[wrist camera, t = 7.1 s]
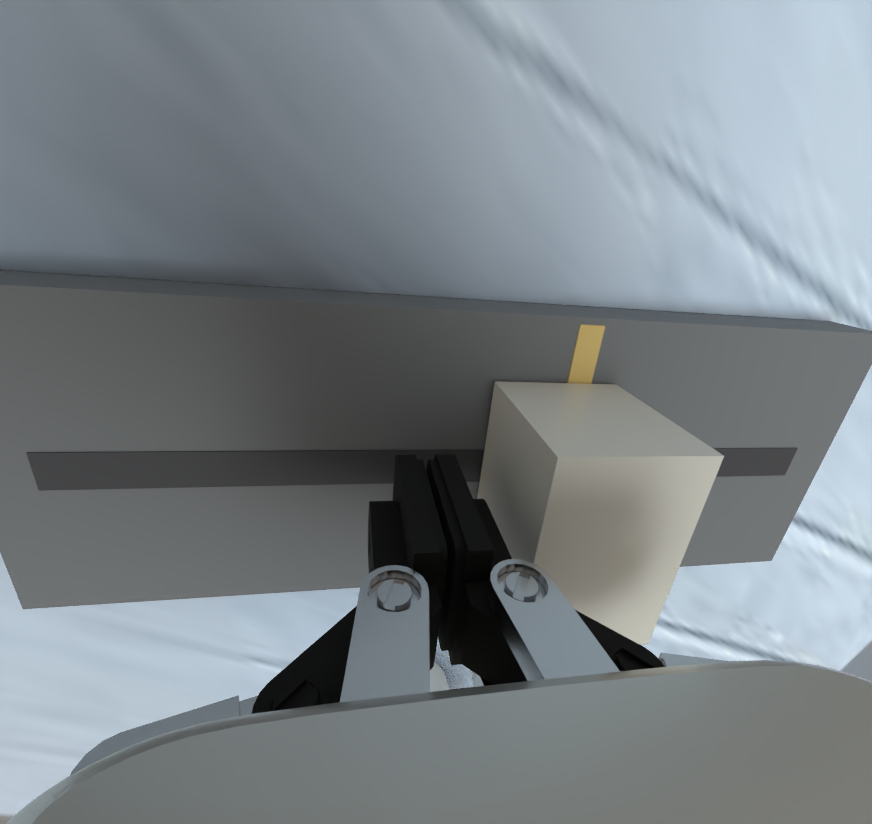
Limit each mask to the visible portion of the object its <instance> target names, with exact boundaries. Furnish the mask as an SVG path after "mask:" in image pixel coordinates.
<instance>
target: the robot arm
mask: <svg viewBox="0 0 872 824" xmlns="http://www.w3.org/2000/svg"><path fill="white" fill-rule="evenodd" d="M368 566H369V574H368V575H367V576H366V578H365V579H364V580H363V582H362V585H361V587H360V592H359V598H358V603H357V606H356V607H355V608H354V609H353V610H352V611H350V612H349V613H348V614H347V615H346V616H345V617H344V618H342V619H341V620H340V621H339V622H338V623H337V624H335V625H334V626H333V627H332V628H331V629H330V630H329V631H327V632H326V633H325V634H324V635H323V636H322V637H320V638H319V639H318V640H317V641H316V642H315V643H314V644H312V645H311V646H310V647H309V648H308V649H307V650H306V651H304V652H303V653H302V654H301V655H300V656H299V657H297V658H296V659H295V660H294V661H293V662H292V663H291V664H289V665H288V666H287V667H286V668H285V669H284V670H282V671H281V672H280V673H279V674H278V675H277V676H276V677H274V678H273V679H272V680H271V681H270V682H269V683H268V684H267V685H266V686H265V687H264V688H263V690H262V691H261V692H260V693H259V695H258V696H255V697H252V698H249V699H246V700H243V701H240V702H239V695H238V696H235V697H232V698H229V699H226V700H223V701H219V702H216V703H213V704H210V705H207V706H203V707H200V708H197V709H194V710H191V711H188V712H184V713H181V714H178V715H175V716H172V717H168V718H165V719H162V720H159V721H156V722H153V723H149V724H146V725H143V726H140V727H137V728H134V729H130V730H127V731H124V732H121V733H119V734H117V735H114V736H112V737H110V738H108V739H106V740H104V741H102V742H101V743H100V744H98V745H97V746H96V747H95V748H93V749H92V750H91V751H89V752H88V753H87V754H86V755H85V756H84V757H83V758H82V760H81V761H80V762H79V763H78V765H77V766H76V767H75V768H74V769H73V771H72V772H71V775H70V776H69V777H67V778H66V779H64V780H62V781H61V782H59V783H58V784H56V785H55V786H53V787H51V788H50V789H48V790H47V791H45V792H44V793H42V794H41V795H40V796H38V797H37V798H36V799H34V800H33V801H32V802H30V803H29V804H28V805H26V806H25V807H24V808H23V809H22V810H21V811H19V812H18V813H17V814H16V815H15V816H14V817H13V818H12V819H11V820H10V821H9V822H8V823H7V824H872V682H871V681H868V680H866V679H863V678H860V677H857V676H854V675H851V674H848V673H845V672H841V671H837V670H834V669H830V668H826V667H822V666H818V665H811V664H804V663H797V662H789V661H768V660H758V661H722V660H714V659H707V658H699V657H691V656H683V655H676V654H668V653H661V654H660V656H659V658H657V657H656V656H655V655H654V654H653V653H652V652H650V651H649V650H647V649H646V648H644V647H643V646H641V645H639V644H638V643H636V642H634V641H632V640H630V639H628V638H627V637H625V636H623V635H621V634H619V633H617V632H615V631H614V630H612V629H610V628H608V627H606V626H604V625H603V624H601V623H599V622H597V621H595V620H593V619H591V618H590V617H588V616H586V615H584V614H582V613H580V612H579V611H577V610H575V609H574V608H573V607H572V605H571V604H570V602H569V601H568V600H567V598H566V597H565V596H564V594H563V593H562V592H561V590H560V589H559V588H558V586H557V585H556V583H555V582H554V581H553V579H552V578H551V577H550V576H549V575H548V573H547V572H546V571H545V570H544V569H542V568H540V567H539V566H537V565H536V564H534V563H531V562H529V561H525V560H520V559H512V557H511V555H510V553H509V551H508V548H507V546H506V544H505V542H504V540H503V537H502V535H501V533H500V531H499V529H498V526H497V524H496V522H495V520H494V518H493V516H492V513H491V511H490V509H489V507H488V505H487V503H486V501H485V500H484V499H473V497H472V495H471V492H470V490H469V488H468V485H467V483H466V480H465V478H464V475H463V473H462V471H461V468H460V466H459V463H458V461H457V459H456V456H455V455H453V454H450V455H435V456H434V460H428V461H427V468H426V469H425V465H424V461H423V460H417V458H416V455H396V457H395V469H394V484H393V500H392V501H369V515H368ZM437 638H438V639H439V644H440V648H441V650H442V651H443V650H448V651H449V656H450V661H451V665H457V664H463V665H464V666H466V667H467V668H469V669H470V670H471V671H472V680H473V684H474V687H470V688H461V689H452V690H443V691H434V692H430V670H431V669H432V668H433V666H434V660H435V653H436V645H437Z"/></svg>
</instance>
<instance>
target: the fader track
mask: <svg viewBox="0 0 872 824" xmlns="http://www.w3.org/2000/svg"><path fill="white" fill-rule="evenodd" d="M871 365H872V331H869V330H865V329H861V328H856V327H852V326H848V325H843V324H839V323H835V322H830V321H815V320H799V319H783V318H767V317H751V316H734V315H718V314H702V313H686V312H670V311H653V310H637V309H621V308H605V307H589V306H572V305H556V304H540V303H524V302H508V301H491V300H475V299H459V298H443V297H427V296H410V295H394V294H378V293H362V292H346V291H329V290H313V289H297V288H281V287H265V286H248V285H232V284H216V283H200V282H184V281H167V280H151V279H135V278H119V277H103V276H86V275H70V274H54V273H38V272H22V271H5V270H0V553H1V555H2V558H3V560H4V563H5V565H6V568H7V570H8V573H9V575H10V578H11V580H12V583H13V585H14V588H15V590H16V593H17V595H18V598H19V600H20V603H21V605H22V608H23V609H32V608H48V607H63V606H79V605H94V604H110V603H125V602H141V601H156V600H172V599H187V598H202V597H218V596H233V595H249V594H264V593H280V592H295V591H311V590H326V589H342V588H357V587H361V585H362V582H363V580H364V579H365V578H366V576H367V575H368V574H369V566H368V515H369V501H392V500H393V484H394V469H395V457H396V455H416V458H417V460H423V461H424V465H425V469H426V468H427V461H428V460H434V456H435V455H450V454H453V455H455V456H456V459H457V461H458V463H459V466H460V468H461V471H462V473H463V475H464V478H465V480H466V483H467V485H468V488H469V490H470V492H471V495H472V497H473V499H477V496H478V489H479V483H480V476H481V469H482V463H483V456H484V450H485V443H486V436H487V430H488V423H489V416H490V410H491V403H492V397H493V390H494V383H495V381H502V382H542V383H581V384H616V385H618V386H619V387H621V388H622V389H624V390H625V391H627V392H628V393H630V394H631V395H633V396H634V397H636V398H637V399H639V400H640V401H642V402H644V403H645V404H647V405H648V406H650V407H651V408H653V409H654V410H656V411H657V412H659V413H660V414H662V415H663V416H665V417H666V418H668V419H669V420H671V421H672V422H674V423H675V424H677V425H678V426H680V427H681V428H683V429H684V430H686V431H687V432H689V433H690V434H692V435H693V436H695V437H696V438H698V439H699V440H701V441H703V442H704V443H706V444H707V445H709V446H710V447H712V448H713V449H715V450H716V451H718V452H719V453H721V454H722V455H724V458H723V460H722V463H721V465H720V468H719V470H718V473H717V475H716V478H715V480H714V483H713V485H712V488H711V490H710V493H709V495H708V497H707V500H706V502H705V505H704V507H703V510H702V512H701V515H700V517H699V520H698V522H697V525H696V527H695V530H694V532H693V535H692V537H691V539H690V542H689V544H688V547H687V549H686V552H685V554H684V557H683V559H682V562H681V564H680V567H682V566H698V565H713V564H729V563H744V562H760V561H772V559H773V557H774V555H775V553H776V551H777V549H778V547H779V545H780V543H781V541H782V539H783V537H784V535H785V533H786V531H787V529H788V527H789V525H790V523H791V521H792V519H793V517H794V515H795V514H796V512H797V510H798V508H799V506H800V504H801V502H802V500H803V498H804V496H805V494H806V492H807V490H808V488H809V486H810V484H811V482H812V480H813V478H814V476H815V474H816V472H817V470H818V469H819V467H820V465H821V463H822V461H823V459H824V457H825V455H826V453H827V451H828V449H829V447H830V445H831V443H832V441H833V439H834V437H835V435H836V433H837V431H838V429H839V427H840V425H841V423H842V422H843V420H844V418H845V416H846V414H847V412H848V410H849V408H850V406H851V404H852V402H853V400H854V398H855V396H856V394H857V392H858V390H859V388H860V386H861V384H862V382H863V380H864V378H865V376H866V375H867V373H868V371H869V369H870V367H871Z"/></svg>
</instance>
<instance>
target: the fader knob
mask: <svg viewBox="0 0 872 824" xmlns="http://www.w3.org/2000/svg"><path fill="white" fill-rule="evenodd" d="M723 458H724V455H722V454H721V453H719V452H718V451H716V450H715V449H713V448H712V447H710V446H709V445H707V444H706V443H704V442H703V441H701V440H699V439H698V438H696V437H695V436H693V435H692V434H690V433H689V432H687V431H686V430H684V429H683V428H681V427H680V426H678V425H677V424H675V423H674V422H672V421H671V420H669V419H668V418H666V417H665V416H663V415H662V414H660V413H659V412H657V411H656V410H654V409H653V408H651V407H650V406H648V405H647V404H645V403H644V402H642V401H640V400H639V399H637V398H636V397H634V396H633V395H631V394H630V393H628V392H627V391H625V390H624V389H622V388H621V387H619V386H618V385H616V384H581V383H542V382H502V381H495V383H494V390H493V397H492V403H491V410H490V416H489V423H488V430H487V436H486V443H485V450H484V456H483V463H482V469H481V476H480V483H479V489H478V496H477V499H484V500H485V501H486V503H487V505H488V507H489V509H490V511H491V513H492V516H493V518H494V520H495V522H496V524H497V526H498V529H499V531H500V533H501V535H502V537H503V540H504V542H505V544H506V546H507V548H508V551H509V553H510V555H511V557H512V559H520V560H525V561H529V562H531V563H534V564H536V565H537V566H539V567H540V568H542V569H544V570H545V571H546V572H547V573H548V575H549V576H550V577H551V578H552V579H553V581H554V582H555V583H556V585H557V586H558V588H559V589H560V590H561V592H562V593H563V594H564V596H565V597H566V598H567V600H568V601H569V602H570V604H571V605H572V607H573V608H574V609H575V610H577V611H579V612H580V613H582V614H584V615H586V616H588V617H590V618H591V619H593V620H595V621H597V622H599V623H601V624H603V625H604V626H606V627H608V628H610V629H612V630H614V631H615V632H617V633H619V634H621V635H623V636H625V637H627V638H628V639H630V640H632V641H634V642H636V643H638V644H648V643H649V641H650V638H651V636H652V633H653V631H654V628H655V626H656V623H657V621H658V619H659V616H660V614H661V611H662V609H663V606H664V604H665V601H666V599H667V596H668V594H669V591H670V589H671V586H672V584H673V581H674V579H675V577H676V574H677V572H678V569H679V567H680V564H681V562H682V559H683V557H684V554H685V552H686V549H687V547H688V544H689V542H690V539H691V537H692V535H693V532H694V530H695V527H696V525H697V522H698V520H699V517H700V515H701V512H702V510H703V507H704V505H705V502H706V500H707V497H708V495H709V493H710V490H711V488H712V485H713V483H714V480H715V478H716V475H717V473H718V470H719V468H720V465H721V463H722V460H723Z"/></svg>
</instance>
